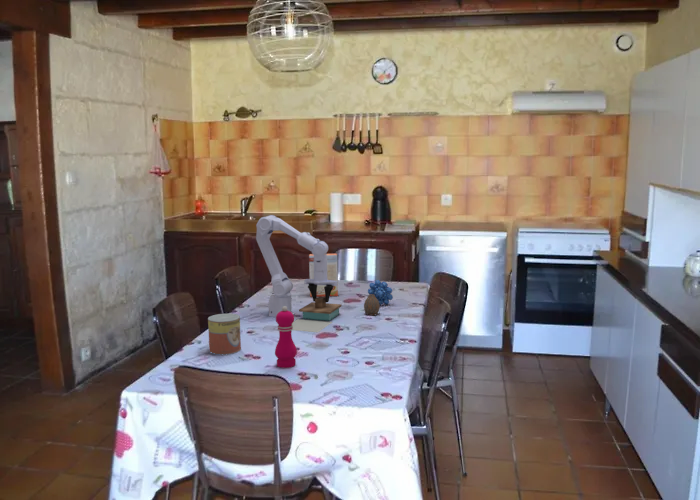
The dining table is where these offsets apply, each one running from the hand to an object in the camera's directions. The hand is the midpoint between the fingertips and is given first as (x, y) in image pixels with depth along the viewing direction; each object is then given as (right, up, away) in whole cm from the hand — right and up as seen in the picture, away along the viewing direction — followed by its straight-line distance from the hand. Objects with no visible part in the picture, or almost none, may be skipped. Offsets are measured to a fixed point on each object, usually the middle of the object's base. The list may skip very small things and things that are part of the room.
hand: (321, 301), depth 262 cm
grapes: (+26, -4, +21) cm, 34 cm away
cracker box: (-1, -1, +43) cm, 43 cm away
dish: (0, -7, +1) cm, 7 cm away
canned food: (-32, -14, -42) cm, 55 cm away
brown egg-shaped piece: (+22, -6, +6) cm, 24 cm away
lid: (0, -3, 0) cm, 3 cm away
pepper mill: (-9, -16, -59) cm, 62 cm away
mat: (-5, -9, -13) cm, 17 cm away
